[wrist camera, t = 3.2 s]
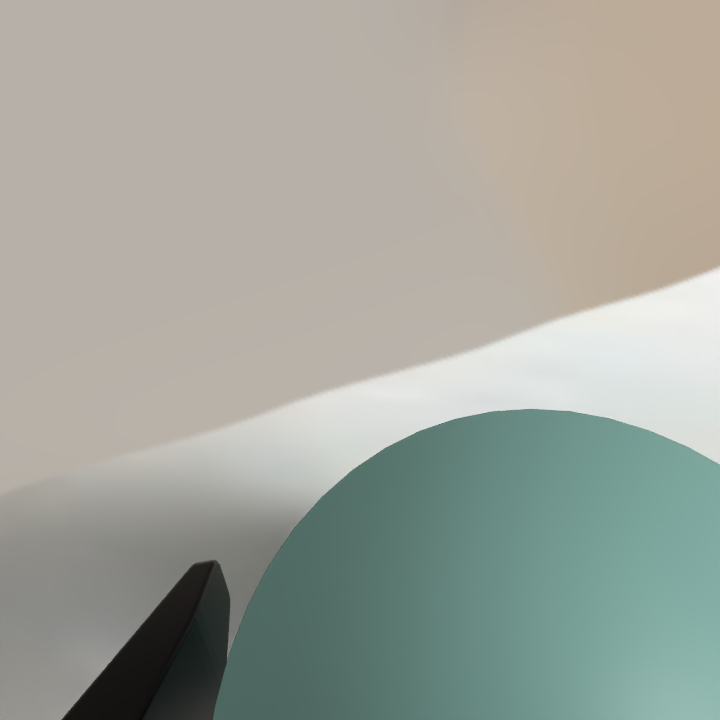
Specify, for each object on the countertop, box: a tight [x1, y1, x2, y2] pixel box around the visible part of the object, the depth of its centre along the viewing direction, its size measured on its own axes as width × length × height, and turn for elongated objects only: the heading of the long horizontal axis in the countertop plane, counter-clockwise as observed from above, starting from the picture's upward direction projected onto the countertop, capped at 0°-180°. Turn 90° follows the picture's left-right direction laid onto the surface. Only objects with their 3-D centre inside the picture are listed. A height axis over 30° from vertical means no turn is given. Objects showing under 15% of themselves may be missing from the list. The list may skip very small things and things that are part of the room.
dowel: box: [213, 409, 720, 720], centre depth 9 cm, size 4×4×13 cm
